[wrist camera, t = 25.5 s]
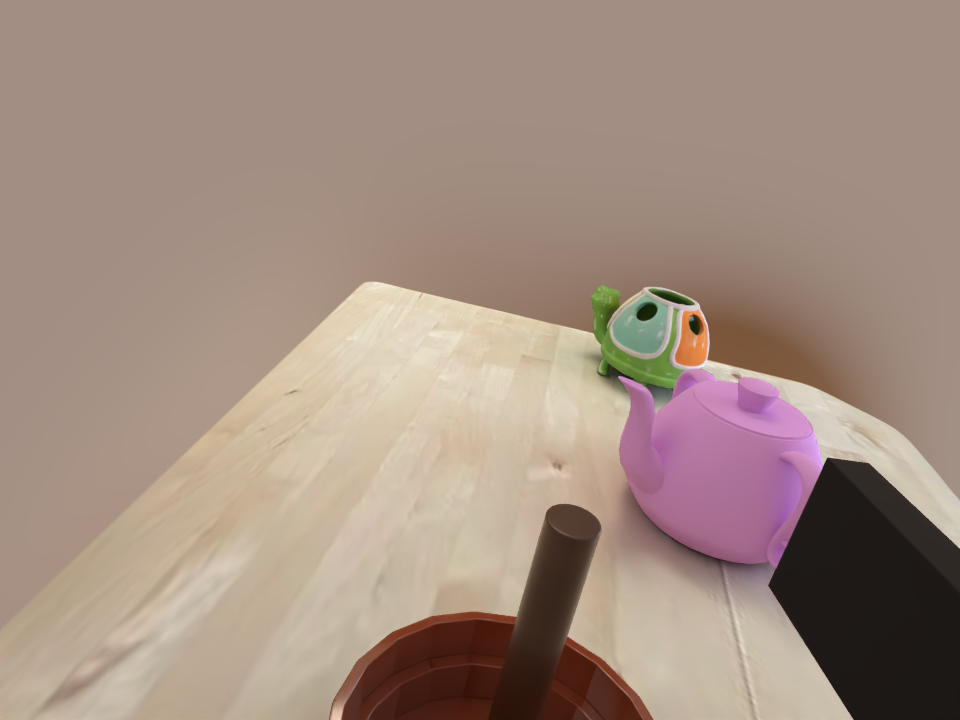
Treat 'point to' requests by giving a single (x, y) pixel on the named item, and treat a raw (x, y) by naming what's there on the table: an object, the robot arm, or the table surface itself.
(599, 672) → the bowl
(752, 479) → the teapot
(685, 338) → the turtle holder
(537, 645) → the peg on round base
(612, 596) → the table surface
